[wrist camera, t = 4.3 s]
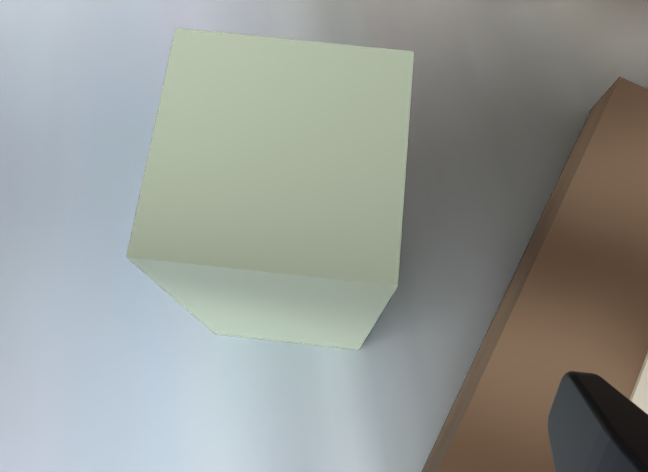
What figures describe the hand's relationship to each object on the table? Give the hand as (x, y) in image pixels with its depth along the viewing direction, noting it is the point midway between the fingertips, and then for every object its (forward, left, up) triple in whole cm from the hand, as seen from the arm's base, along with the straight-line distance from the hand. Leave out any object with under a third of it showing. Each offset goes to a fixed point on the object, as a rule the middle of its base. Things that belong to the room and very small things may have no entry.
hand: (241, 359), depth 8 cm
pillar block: (+2, +3, -10) cm, 11 cm away
